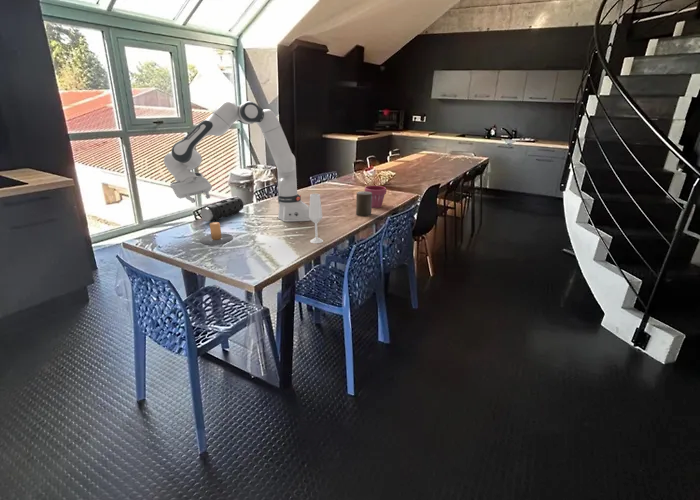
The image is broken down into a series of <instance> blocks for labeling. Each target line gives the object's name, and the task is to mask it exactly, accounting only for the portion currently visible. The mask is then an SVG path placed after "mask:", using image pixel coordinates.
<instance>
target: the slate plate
mask: <svg viewBox="0 0 700 500" xmlns="http://www.w3.org/2000/svg"><path fill="white" fill-rule="evenodd" d="M221 235H222V238H221V239H219V240H212V238H211V234H207V235H205V236H203V237H201V238H200V239H199V241H200V243H201V244H204V245H209V246H211V245H213V246H215V245H222V244H226V243H228V242H230V241H233V238H234V236H233V235H232V234H229V233H223V232H221Z"/></svg>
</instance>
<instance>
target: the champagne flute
mask: <svg viewBox="0 0 700 500" xmlns="http://www.w3.org/2000/svg"><path fill="white" fill-rule="evenodd" d="M309 218H310V221H311V222H312V223H314V233H315V234H314V238H312V239H310V241H309V242H310V243H311V244H321V243H323V242H324V240H323V239H322V238H320V237H318V234H319V233H318V223H319V222H320V221H322V219H323V209H322V202H321V194H319V193H310V195H309Z"/></svg>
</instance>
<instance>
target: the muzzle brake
mask: <svg viewBox="0 0 700 500" xmlns="http://www.w3.org/2000/svg"><path fill="white" fill-rule="evenodd" d="M243 209H244V202H243V200H242V198H240V197H239V196H238V197H237V196H234V197H232V198H229V199H225V200H223V201H219V202H216V203H213V204H208V205H205V206H203V208H202V209H201V210H200V216H201V218H202V220H203V221H204V222H207V223H213V222H218V221H220V219H222V218H225V217H226V218H227V217H231V216H232V215H235V214H238V213H240V211H243Z"/></svg>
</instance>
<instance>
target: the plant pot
mask: <svg viewBox="0 0 700 500" xmlns="http://www.w3.org/2000/svg"><path fill="white" fill-rule="evenodd" d="M364 191H366V192H371V193H372V208H373V209H381V207H382V206H383V204H384V203H383V202H384V198H385V195H386V194H387V188H386V187H385V186H382V185H367V186H365V187H364Z"/></svg>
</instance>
